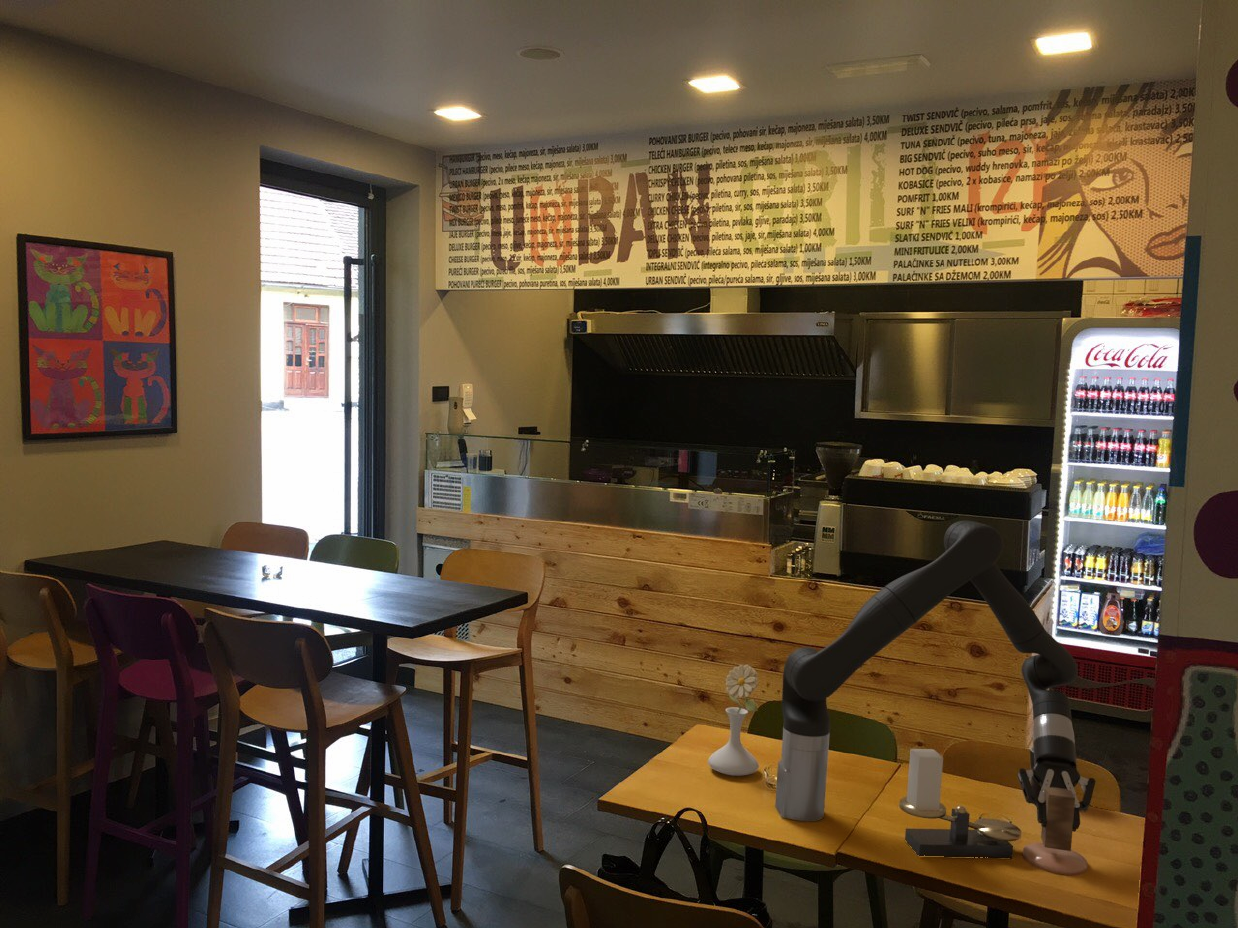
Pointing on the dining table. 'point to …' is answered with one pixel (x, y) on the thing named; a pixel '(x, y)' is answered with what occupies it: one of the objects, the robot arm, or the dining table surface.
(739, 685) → the flower in vase
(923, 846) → the balance
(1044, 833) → the walnut block
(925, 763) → the pale block
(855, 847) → the dining table surface
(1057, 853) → the saucer
